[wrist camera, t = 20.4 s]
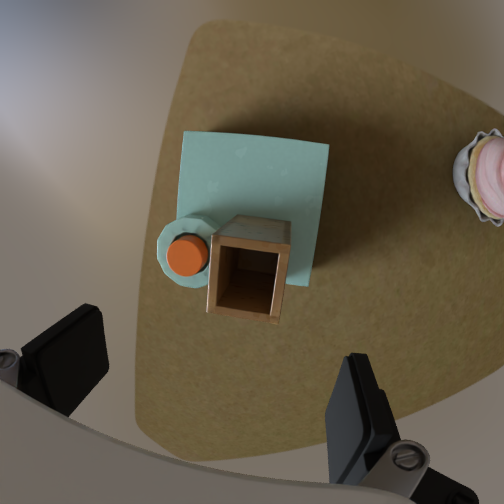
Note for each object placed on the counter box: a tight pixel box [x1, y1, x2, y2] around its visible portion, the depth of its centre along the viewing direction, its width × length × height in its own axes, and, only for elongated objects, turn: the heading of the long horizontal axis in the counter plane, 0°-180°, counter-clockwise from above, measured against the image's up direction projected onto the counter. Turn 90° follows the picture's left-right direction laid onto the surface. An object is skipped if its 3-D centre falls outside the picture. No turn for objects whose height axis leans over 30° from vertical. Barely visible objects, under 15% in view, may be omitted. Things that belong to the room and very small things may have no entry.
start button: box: [167, 235, 208, 277], centre depth 24 cm, size 3×3×2 cm
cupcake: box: [453, 128, 504, 226], centre depth 19 cm, size 9×9×10 cm
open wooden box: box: [207, 214, 291, 324], centre depth 21 cm, size 5×4×8 cm
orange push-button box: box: [157, 131, 329, 288], centre depth 26 cm, size 13×13×6 cm
